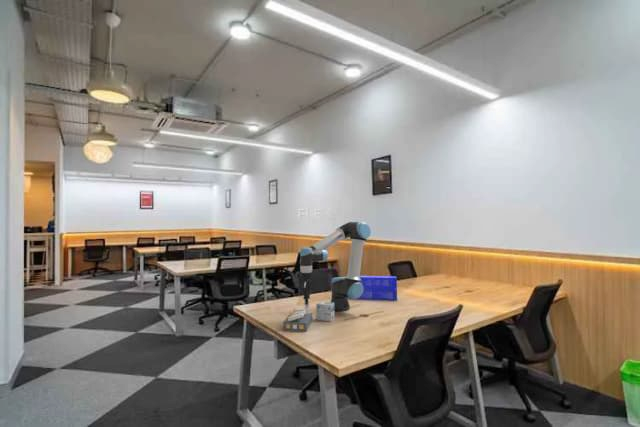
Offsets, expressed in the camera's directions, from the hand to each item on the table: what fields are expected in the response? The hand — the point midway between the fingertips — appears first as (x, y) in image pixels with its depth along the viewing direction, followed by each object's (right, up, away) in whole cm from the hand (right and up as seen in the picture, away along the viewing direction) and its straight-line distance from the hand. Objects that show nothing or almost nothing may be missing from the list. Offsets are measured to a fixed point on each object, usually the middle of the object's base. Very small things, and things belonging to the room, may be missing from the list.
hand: (307, 309), depth 209 cm
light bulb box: (+12, -9, +7) cm, 17 cm away
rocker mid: (-5, -1, -6) cm, 8 cm away
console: (-5, -9, -5) cm, 11 cm away
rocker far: (-4, -1, +1) cm, 5 cm away
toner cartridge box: (+53, -10, +64) cm, 83 cm away
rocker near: (-6, -1, -12) cm, 14 cm away
